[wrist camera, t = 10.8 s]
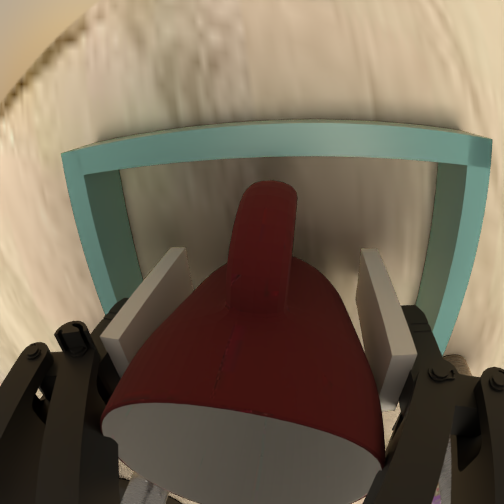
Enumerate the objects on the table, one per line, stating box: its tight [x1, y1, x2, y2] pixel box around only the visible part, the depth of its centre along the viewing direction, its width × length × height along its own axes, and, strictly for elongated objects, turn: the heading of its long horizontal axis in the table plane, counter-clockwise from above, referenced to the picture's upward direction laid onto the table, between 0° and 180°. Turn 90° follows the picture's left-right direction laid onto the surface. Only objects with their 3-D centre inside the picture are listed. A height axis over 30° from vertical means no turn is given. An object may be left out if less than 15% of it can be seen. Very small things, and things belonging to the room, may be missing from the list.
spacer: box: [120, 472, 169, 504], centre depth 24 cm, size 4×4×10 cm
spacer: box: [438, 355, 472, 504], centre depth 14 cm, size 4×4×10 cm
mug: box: [100, 180, 386, 504], centre depth 11 cm, size 10×8×10 cm
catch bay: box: [61, 119, 492, 356], centre depth 15 cm, size 18×13×3 cm
